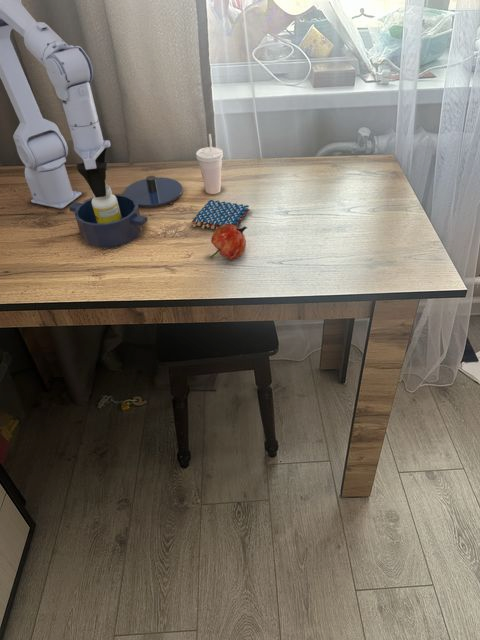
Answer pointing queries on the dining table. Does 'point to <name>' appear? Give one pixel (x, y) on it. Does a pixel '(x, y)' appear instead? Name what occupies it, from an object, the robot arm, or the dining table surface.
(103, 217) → the supplement bottle
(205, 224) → the woven mat
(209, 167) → the smoothie
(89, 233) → the pan
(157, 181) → the pan lid
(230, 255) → the pomegranate
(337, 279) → the dining table surface
